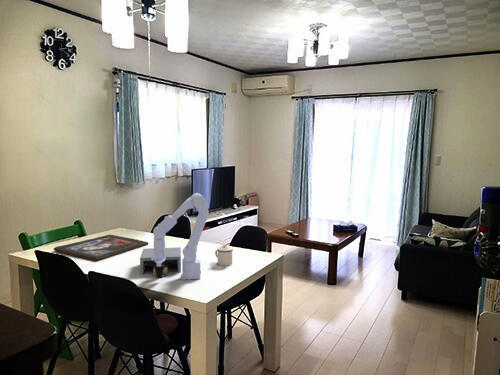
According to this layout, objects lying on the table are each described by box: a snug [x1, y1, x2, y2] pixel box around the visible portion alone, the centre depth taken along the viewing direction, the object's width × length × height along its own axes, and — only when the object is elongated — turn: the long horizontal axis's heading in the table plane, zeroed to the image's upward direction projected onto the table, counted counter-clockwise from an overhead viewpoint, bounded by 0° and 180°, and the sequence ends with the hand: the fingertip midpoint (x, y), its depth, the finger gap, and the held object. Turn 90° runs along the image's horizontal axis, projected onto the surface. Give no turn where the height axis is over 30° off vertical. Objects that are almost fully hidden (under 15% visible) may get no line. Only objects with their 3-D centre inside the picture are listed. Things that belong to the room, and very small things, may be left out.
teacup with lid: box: [214, 243, 233, 267], centre depth 214 cm, size 12×9×12 cm
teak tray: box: [153, 262, 169, 277], centre depth 199 cm, size 7×16×6 cm, turn 11°
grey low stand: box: [139, 246, 182, 275], centre depth 204 cm, size 21×18×9 cm
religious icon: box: [53, 234, 149, 262], centre depth 241 cm, size 40×45×3 cm
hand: (159, 275), depth 187 cm, fingers open, 7 cm apart
